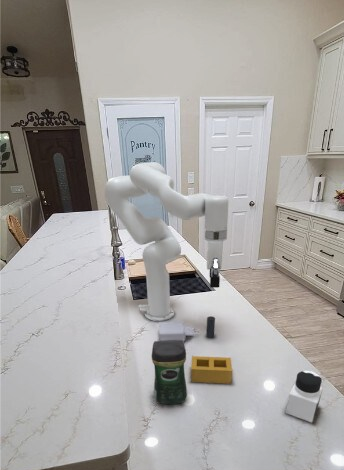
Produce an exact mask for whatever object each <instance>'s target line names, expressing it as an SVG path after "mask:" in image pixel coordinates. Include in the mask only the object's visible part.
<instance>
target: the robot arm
mask: <svg viewBox="0 0 344 470" xmlns="http://www.w3.org/2000/svg"><path fill="white" fill-rule="evenodd" d="M174 188H175V180H174V178H173V177H172V176H170V175H168V174H167V172H166V170H165V167H164V166H163V165H162V164H161V163H159V162H157V161H156V162H155V161H151V162H149V161H148V162H140V163H136V164H135V165H133V166H132V167H131V169H130V171H129V174H128V175H119V176H114V177H112V178H109V179H108V180H107V181H106V183H105V184H104V198H105V201H106V203H107V206H108V207H109V209H110V210H111V212H113V214H114V215H115V216H116V217H117V218H118V219H119V221H120V223H122V225H123V226H124V228H125V230H127V233H128V234H129V235H130V237H131V238H132V239H133V241H134V242H135V243H136V244H137V245H139V246H140V245H141V246H143V245H146V246H145V247H144V249H143V250H142V255H141V256H142V262H143V264H144V269H145V270H144V271H145V278H146V279H145V281H146V293H147V295H146V296H147V303H146V304H138V308H137V309H138V310H139V311H140V312H144V317H145V318H146V319H148V320H149V321H154V322H165V321H168V320H169V319H172V318H173V317H174V315H175V311H174V309H172V308H171V290H170V289H171V286H170V285H171V283H170V273H169V271H168V269H167V266H166V265H167V264H169V263H172V262H174V261H176V260H178V259H179V258H180V256H181V254H182V248H181V245H180V242H179V241H178V239H177V237H176V236H175V235H174V233H173V232H172V230H171V229H170V228H169V226H168V225H167V223H166V222H165V221H164V220H163V219H162V218H160V217H157V216H153V217H152V216H151V217H145V216H144V215H143V213H142V212H141V211H140V209H139V207H137V206H136V205H135V204H134V203H132V202H131V201H129V200H128V199H135V198H139V197H142V196H144V195H146V194H149V195H151V196H152V197H154V198H156V199H157V200H159V203H160V204H161V206H162V208H163V209H164V210H165V211H166V212H167V213H169V214H171V215H172V216H174V217H176V218H178V219H181V220H183V221H190V220H194V219H197V218H202V217H204V240H205V241H207V242H206V269H207V270H208V271H209V281H210V282H209V287H210V288H217V289H218V288H220V281H221V279H220V278H221V277H220V270H221V269H222V264H223V254H224V251H223V250H224V241H226V240H228V220H229V219H228V218H229V198H228V197H227V196H226V195H222V194H214V195H213V194H209V193H205V192H199V193H193V194H189V195H185V194H182V193H180V192H178V191H176V190H175V189H174ZM147 244H148V245H147Z"/></svg>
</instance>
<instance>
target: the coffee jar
mask: <svg viewBox="0 0 344 470" xmlns="http://www.w3.org/2000/svg"><path fill="white" fill-rule="evenodd" d="M186 360H187V351H186V346H185V343H184V341H182V340H164V341H160V340H154V342H153V343H152V349H151V361H152V364H153V365H154V382H153V396H154V401H155V402H156V403H158V404H161V405H175V404H181V403H184V402H185V401H186V399H187V396H188V389H187V382H186V373H185V362H186Z"/></svg>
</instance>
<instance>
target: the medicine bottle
mask: <svg viewBox="0 0 344 470" xmlns="http://www.w3.org/2000/svg"><path fill="white" fill-rule="evenodd" d="M322 382H323V381H322V377H321V376H320V375H319V374H318V373H316V372H315V371H311V370H302V371H299V372H298V373H297V374H296V378H295V380H294V383H293V385H292V387H291V389H290V392H289V394H288V398H287V404H286V408H285V409H286V410H285V414H287V415H290V416H292V417H295V418H298V419H300V420H303V421H305V422H309V423H314V420H315V418H316V415H317V412H318V408H319V405H320V401H321V397H322V394H323V390H324V388H323V387H322V386H321V385H322Z"/></svg>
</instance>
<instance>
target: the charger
mask: <svg viewBox="0 0 344 470" xmlns="http://www.w3.org/2000/svg"><path fill="white" fill-rule="evenodd" d="M158 323H159V328H158V329H159V330H158V333H159V341H164V340H182V341H183V342H184V341H186V336H187V337H189V336H195V335H194V334H195V333H199V332H200V331H199V328H194V327H193V326H185V322H184V321H182V320H181V321H180V320H179V321H159V322H158Z"/></svg>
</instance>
